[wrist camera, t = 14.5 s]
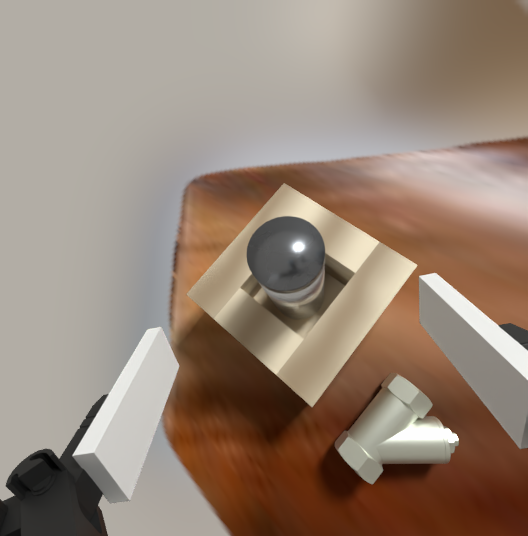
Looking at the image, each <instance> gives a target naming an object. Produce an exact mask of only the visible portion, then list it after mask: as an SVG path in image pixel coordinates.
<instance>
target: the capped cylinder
mask: <svg viewBox="0 0 528 536" xmlns="http://www.w3.org/2000/svg"><path fill="white" fill-rule="evenodd" d="M246 257H247V263H248V266H249V269H250V271H251V272H252V274H253V276H254V277H255V278H256V280H257V281H258V282H259V284H260V285H261V286H262V288H263V289H264V290H265V292H266V293H267V294H268V296H269V297H270V298H271V300H272V301H273V302H274V304H275V305H276V306H277V308H278V309H279V310H280V312H281V313H283V314H284V315H285V316H287V317H289V318H291V319H296V320H302V319H307V318H309V317H311V316H313V315H314V314H316V313H317V312H318V311H319V309H320V308H321V306H322V304H323V300H324V277H325V245H324V241H323V238H322V236H321V234H320V232H319V231H318V230H317V228H316V227H315V226H314V225H312V224H311V223H310V222H308V221H306V220H304V219H302V218H298V217H293V216H282V217H277V218H274V219H271V220H269V221H267V222H265V223H264V224H262V225H261V226H260V227H259V228H258V229H257V230H256V231H255V232H254V234H253V235H252V237H251V238H250V241H249V243H248V246H247V256H246Z"/></svg>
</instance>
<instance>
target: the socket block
mask: <svg viewBox="0 0 528 536" xmlns="http://www.w3.org/2000/svg"><path fill="white" fill-rule="evenodd" d="M282 216H293V217H298V218H302V219H304V220H306V221H308V222H310V223H311V224H312V225H314V226H315V227H316V228H317V230H318V231H319V232H320V234H321V236H322V238H323V241H324V245H325V277H324V300H323V304H322V306H321V308H320V309H319V311H318V312H317V313H316V314H314V315H313V316H311V317H309V318H307V319H302V320H296V319H291V318H289V317H287V316H285V315H284V314H283V313H281V312H280V310H279V309H278V308H277V306H276V305H275V304H274V302H273V301H272V300H271V298H270V297H269V296H268V294H267V293H266V292H265V290H264V289H263V288H262V286H261V285H260V284H259V282H258V281H257V280H256V278H255V277H254V276H253V274H252V272H251V271H250V269H249V266H248V263H247V257H246V256H247V246H248V243H249V241H250V238H251V237H252V235H253V234H254V232H255V231H256V230H257V229H258V228H259V227H260V226H261V225H262V224H264V223H265V222H267V221H269V220H271V219H274V218H277V217H282ZM416 267H417V265H416V264H415V263H413V262H411V261H410V260H408V259H407V258H405V257H403V256H402V255H400V254H398V253H397V252H395V251H394V250H392V249H390V248H389V247H387V246H385V245H384V244H382V243H381V242H379V241H377V240H376V239H374V238H372V237H371V236H369V235H368V234H366V233H364V232H363V231H361V230H359V229H358V228H356V227H355V226H353V225H351V224H350V223H348V222H346V221H345V220H343V219H342V218H340V217H338V216H337V215H335V214H333V213H332V212H330V211H329V210H327V209H325V208H324V207H322V206H320V205H319V204H317V203H316V202H314V201H312V200H311V199H309V198H307V197H306V196H304V195H302V194H301V193H299V192H298V191H296V190H294V189H293V188H291V187H289V186H288V185H286V184H285V183H284V184H283V185H282V186H281V187H280V188H279V190H278V191H277V192H276V193H275V194H274V195H273V196H272V198H271V199H270V200H269V201H268V202H267V203H266V204H265V205H264V207H263V208H262V209H261V210H260V211H259V212H258V213H257V215H256V216H255V217H254V218H253V219H252V220H251V221H250V223H249V224H248V225H247V226H246V227H245V228H244V229H243V230H242V232H241V233H240V234H239V235H238V236H237V237H236V238H235V240H234V241H233V242H232V243H231V244H230V245H229V246H228V248H227V249H226V250H225V251H224V252H223V253H222V254H221V255H220V257H219V258H218V259H217V260H216V261H215V262H214V263H213V265H212V266H211V267H210V268H209V269H208V270H207V271H206V273H205V274H204V275H203V276H202V277H201V278H200V279H199V280H198V282H197V283H196V284H195V285H194V286H193V287H192V288H191V290H190V291H189V292H188V293H187V295H188V296H189V297H190V298H191V299H192V300H193V301H194V302H195V303H197V304H198V305H199V306H200V307H201V308H202V309H203V310H204V311H205V312H207V313H208V314H209V315H210V316H211V317H212V318H213V319H214V320H215V321H217V322H218V323H219V324H220V325H221V326H222V327H223V328H224V329H225V330H227V331H228V332H229V333H230V334H231V335H232V336H233V337H234V338H235V339H237V340H238V341H239V342H240V343H241V344H242V345H243V346H244V347H246V348H247V349H248V350H249V351H250V352H251V353H252V354H253V355H254V356H256V357H257V358H258V359H259V360H260V361H261V362H262V363H263V364H264V365H266V366H267V367H268V368H269V369H270V370H271V371H272V372H273V373H274V374H276V375H277V376H278V377H279V378H280V379H281V380H282V381H283V382H284V383H286V384H287V385H288V386H289V387H290V388H291V389H292V390H293V391H295V392H296V393H297V394H298V395H299V396H300V397H301V398H302V399H303V400H305V401H306V402H307V403H308V404H309V405H310V406H311V407H313V406H314V404H315V403H316V402H317V400H318V399H319V397H320V396H321V395H322V393H323V392H324V391H325V389H326V388H327V387H328V385H329V384H330V383H331V381H332V380H333V379H334V377H335V376H336V375H337V373H338V372H339V370H340V369H341V368H342V366H343V365H344V364H345V362H346V361H347V360H348V358H349V357H350V356H351V354H352V353H353V352H354V350H355V349H356V348H357V346H358V345H359V343H360V342H361V341H362V339H363V338H364V337H365V335H366V334H367V333H368V331H369V330H370V329H371V327H372V326H373V325H374V323H375V322H376V321H377V319H378V318H379V316H380V315H381V314H382V312H383V311H384V310H385V308H386V307H387V306H388V304H389V303H390V302H391V300H392V299H393V298H394V296H395V295H396V294H397V292H398V291H399V290H400V288H401V287H402V285H403V284H404V283H405V281H406V280H407V279H408V277H409V276H410V275H411V273H412V272H413V271H414V269H415V268H416Z"/></svg>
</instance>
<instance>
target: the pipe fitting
mask: <svg viewBox="0 0 528 536" xmlns="http://www.w3.org/2000/svg"><path fill="white" fill-rule="evenodd" d="M381 386H382V389H381V390H380V391H379V393H378V394H377V395H376V397H375V398H374V399H373V400H372V402H371V403H370V404H369V405H368V407H367V408H366V409H365V410H364V412H363V413H362V414H361V415H360V417H359V418H358V419H357V420H356V422H355V423H354V424H353V425H352V427H351V428H350V429H349V430H348V431H345V430H344V432H343V433H342V434H341V435H340V437H339V438H338V439H337V440H336V442H335V448H336V450H337V451H338V453H339V454H340V455H341V456H342V458H343V459H344V460H345V461H346V462H347V463H348V464H349V466H350V467H351V468H352V469H353V470H354V471H355V472H356V473H357V474H358V475H359V476H360V477H362V478H363V479H364V480H365V481H366V482H368V483H370V484H373V483H374V482H375V481H376V479H377V478H378V477H379V476H380V474H381V473H382V472H383V467H382V464H436V463H442V464H445V463H448V462H449V461H450V456H451V453H454V450H455V446H458V444H459V441H458V437H457V435H456V434H455V433H453V432H451V431H450V430H449V428H447V427H445V426H443V425H442V423H441V422H440V420H439V419H438V418H436V417H434V416H428V417H424V416H425V415H426V414H427V412H428V411H429V410H430V408H431V407H432V406H433V405H432V403H431V401H430V400H429V398H428V397H427V396H426V395H425V394H424V393H422V392H421V391H420V390H419V389H418V388H417V387H415V386H414V385H413V384H412V383H410V382H409V381H408V380H406V379H405V378H403V377H402V376H400V375H398V374H396V373H390V374H389V375H388V377H387V378H386V379H385V380H384V382H383V383H382V384H381Z"/></svg>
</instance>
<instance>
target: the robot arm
mask: <svg viewBox="0 0 528 536" xmlns="http://www.w3.org/2000/svg"><path fill="white" fill-rule="evenodd" d="M419 312H420V324H421V325H422V326H423V328H424V329H425V330H426V331H427V333H428V334H429V335H430V336H431V338H432V339H433V340H434V341H435V343H436V344H437V345H438V346H439V348H440V349H441V350H442V351H443V353H444V354H445V355H446V356H447V358H448V359H449V360H450V361H451V363H452V364H453V365H454V367H455V368H456V369H457V370H458V372H459V373H460V374H461V375H462V377H463V378H464V379H465V380H466V382H467V383H468V384H469V385H470V387H471V388H472V389H473V390H474V392H475V393H476V394H477V395H478V397H479V398H480V399H481V400H482V402H483V403H484V404H485V405H486V407H487V408H488V409H489V410H490V412H491V413H492V414H493V415H494V417H495V418H496V419H497V420H498V422H499V423H500V424H501V426H502V427H503V428H504V429H505V431H506V432H507V433H508V434H509V436H510V437H511V438H512V439H513V441H514V442H515V443H516V444H517V446H518V447H519V448H520V449H523V448H528V331H527V330H525V329H522V328H520V327H518V326H516V325H513V324H511V323H508V324H502V325H497V324H496V323H494V322H493V321H492V320H491V319H490V318H488V317H487V316H486V315H485V314H484V313H482V312H481V311H480V310H479V309H478V308H477V307H475V306H474V305H473V304H472V303H471V302H469V301H468V300H467V299H466V298H465V297H463V296H462V295H461V294H460V293H459V292H458V291H456V290H455V289H454V288H453V287H452V286H450V285H449V284H448V283H447V282H446V281H445V280H443V279H442V278H441V277H440V276H439V275H437V274H436V273H433V274H428V275H423V276H419ZM178 368H179V364H178V362H177V360H176V358H175V356H174V354H173V351H172V349H171V347H170V345H169V343H168V341H167V339H166V336H165V334H164V332H163V330H162V328H161V327H158V328H153V329H148V330H147V331H146V333H145V334H144V336H143V338H142V340H141V341H140V343H139V344H138V346H137V348H136V350H135V351H134V353H133V355H132V356H131V358H130V360H129V361H128V363H127V365H126V366H125V368H124V370H123V371H122V373H121V375H120V376H119V378H118V380H117V382H116V383H115V385H114V386H113V388H112V390H111V391H110V393H109V394H107V395H103V396H102V397H101V398H100V399H99V400H98V401H97V402H96V403H95V404H94V405H93V406H92V408H91V410H90V411H89V413H88V415H87V416H86V419H85V420H84V421H83V422H82V424H81V425H80V429H78V430H77V432H76V433H75V435H74V437H73V438H72V440H71V441H70V443H69V445H68V446H67V448H66V449H65V451H64V453H63V454H62V456H61V457H60V459H58V457H57V456H56V455H55V454H54V452H53V451H52V450H50V449H43V450H39V451H37V452H35V453H33V454H31V455H30V456H28V457H27V458H26V459H24V460H23V461H22V462H21V463H20V464H19V465H18V466H17V467H16V468H15V469H14V470H13V471H12V473H11V475H10V476H9V478H8V480H7V483H6V487H7V488H8V489H9V490H10V491H11V492H12V493H13V494H14V495H15V496H13V497H11V498H9V499H7V500H4V501H2V500H1V499H0V536H108V534H107V531H106V526H105V523H104V520H103V515H102V511H101V509H100V508H99V506H98V503H99V501H100V499H101V497H102V495H104V496H105V498H106V499H107V500H108V501H109V503H116V502H124V501H130V499H131V496H132V494H133V491H134V488H135V485H136V483H137V480H138V477H139V474H140V472H141V469H142V466H143V464H144V461H145V458H146V455H147V453H148V450H149V447H150V445H151V442H152V439H153V436H154V434H155V431H156V428H157V426H158V423H159V420H160V417H161V415H162V412H163V409H164V407H165V404H166V401H167V398H168V396H169V393H170V390H171V387H172V385H173V382H174V379H175V377H176V374H177V371H178Z"/></svg>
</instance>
